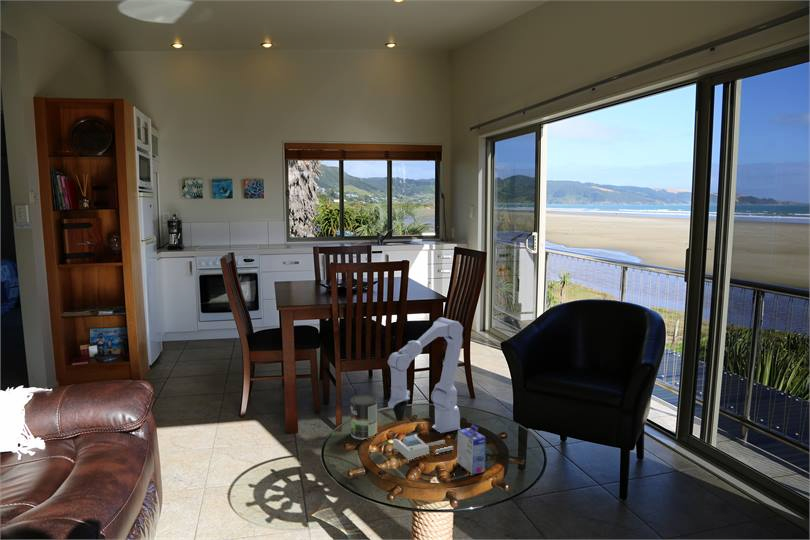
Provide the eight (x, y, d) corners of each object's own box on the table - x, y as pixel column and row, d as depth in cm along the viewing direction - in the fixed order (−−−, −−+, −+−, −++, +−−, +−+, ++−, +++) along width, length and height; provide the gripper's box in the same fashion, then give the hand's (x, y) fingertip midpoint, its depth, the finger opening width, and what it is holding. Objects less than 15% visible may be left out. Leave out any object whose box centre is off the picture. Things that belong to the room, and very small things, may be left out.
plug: (413, 448, 211) (413, 435, 210) (419, 453, 206) (419, 440, 205) (403, 450, 209) (403, 437, 208) (409, 455, 204) (409, 442, 204)
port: (416, 444, 214) (416, 432, 213) (431, 456, 203) (431, 444, 203) (392, 449, 209) (392, 438, 209) (406, 462, 199) (406, 450, 199)
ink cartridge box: (486, 471, 192) (486, 430, 190) (472, 475, 190) (472, 434, 188) (469, 459, 201) (470, 420, 199) (456, 463, 198) (456, 423, 196)
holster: (443, 444, 213) (443, 439, 212) (453, 452, 207) (453, 446, 206) (427, 448, 210) (426, 443, 209) (436, 456, 203) (436, 450, 203)
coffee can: (355, 441, 216) (354, 405, 214) (347, 431, 226) (347, 397, 224) (381, 437, 220) (380, 402, 218) (372, 427, 230) (372, 393, 228)
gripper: (400, 392, 204) (400, 429, 206) (416, 380, 217) (417, 414, 219) (382, 390, 207) (383, 425, 209) (400, 377, 220) (400, 411, 222)
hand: (399, 419), depth 214 cm, fingers closed
